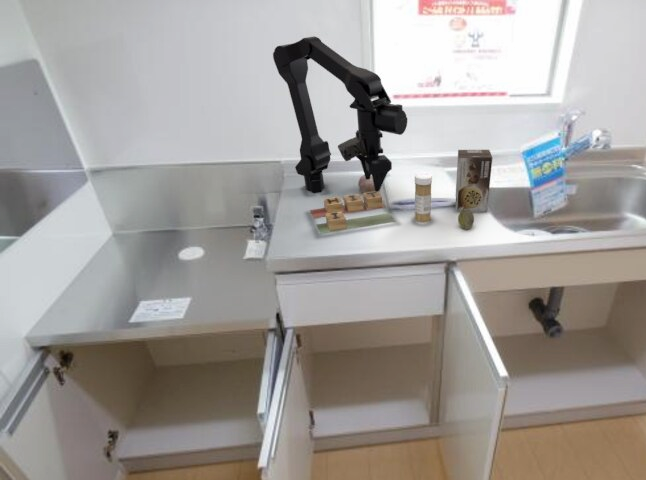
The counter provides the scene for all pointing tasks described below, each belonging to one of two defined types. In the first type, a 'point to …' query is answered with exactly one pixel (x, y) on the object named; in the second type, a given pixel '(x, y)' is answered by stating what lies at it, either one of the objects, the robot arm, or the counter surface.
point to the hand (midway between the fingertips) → (372, 185)
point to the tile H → (333, 205)
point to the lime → (466, 219)
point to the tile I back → (353, 202)
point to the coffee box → (473, 180)
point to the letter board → (353, 222)
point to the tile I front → (336, 221)
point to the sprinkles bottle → (423, 196)
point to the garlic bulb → (366, 184)
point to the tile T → (372, 199)
